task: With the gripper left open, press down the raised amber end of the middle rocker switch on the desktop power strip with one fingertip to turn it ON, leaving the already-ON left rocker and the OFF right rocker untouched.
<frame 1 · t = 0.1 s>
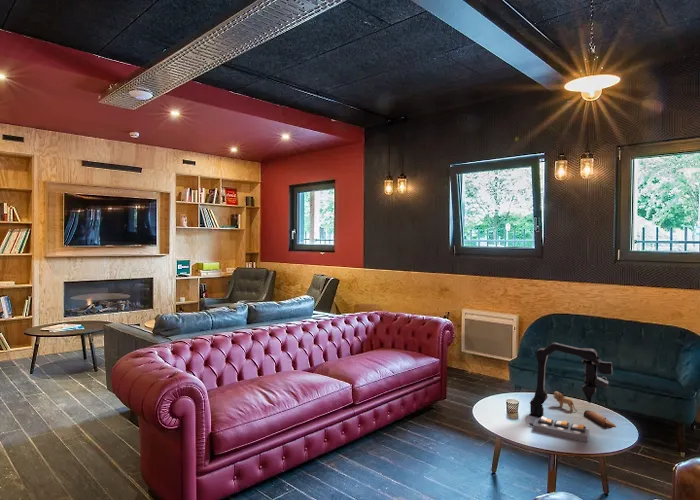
hand: (590, 400, 249), 15 cm above the table, fingers open, 9 cm apart
lion figurine: (564, 408, 275), on the table
rocker right: (578, 427, 238), point 4 cm above the table, hinge at -12.0°
sunglasses case: (600, 422, 256), on the table
rocker middle: (561, 423, 243), point 4 cm above the table, hinge at -12.0°
power strip: (561, 432, 241), on the table
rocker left: (546, 420, 247), point 4 cm above the table, hinge at 12.0°
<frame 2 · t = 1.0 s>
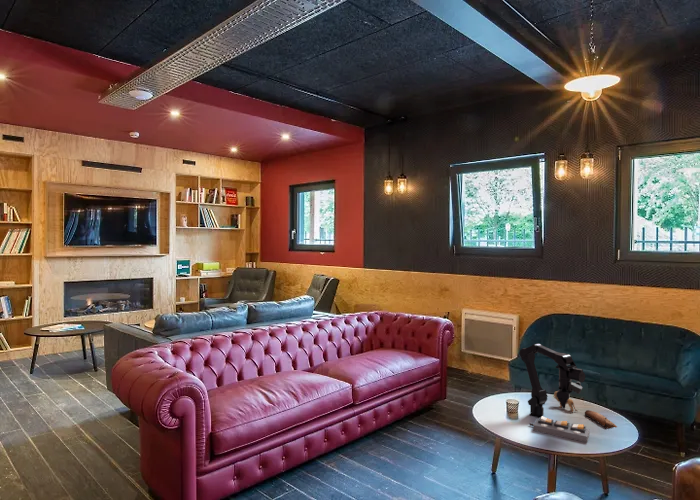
hand: (564, 405, 249), 12 cm above the table, fingers open, 9 cm apart
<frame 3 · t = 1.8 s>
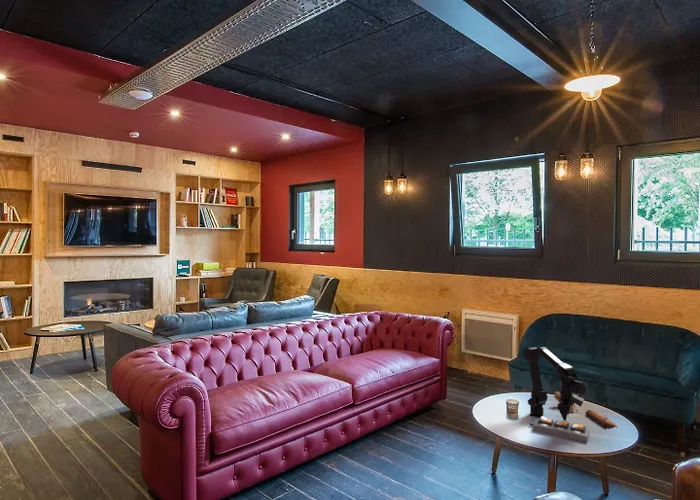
hand: (566, 417, 246), 6 cm above the table, fingers open, 9 cm apart
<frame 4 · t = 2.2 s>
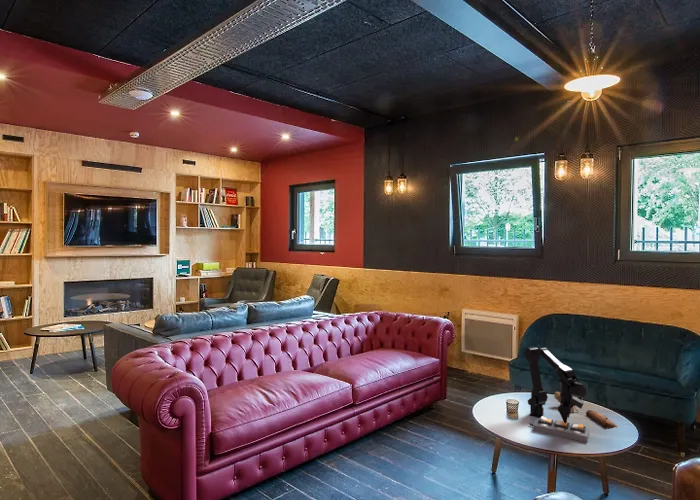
hand: (566, 420, 245), 5 cm above the table, fingers open, 8 cm apart
rocker middle: (561, 423, 243), point 4 cm above the table, hinge at -11.4°, touching gripper
everything else where it was.
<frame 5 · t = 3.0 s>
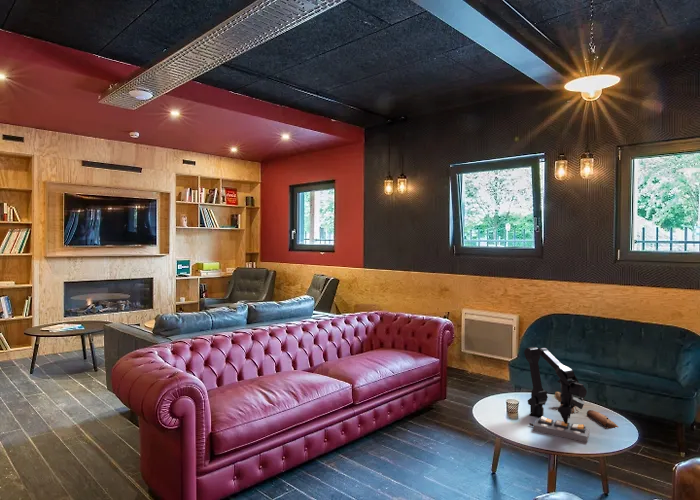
hand: (567, 420, 245), 5 cm above the table, fingers open, 8 cm apart
rocker middle: (561, 423, 243), point 4 cm above the table, hinge at 2.8°, touching gripper
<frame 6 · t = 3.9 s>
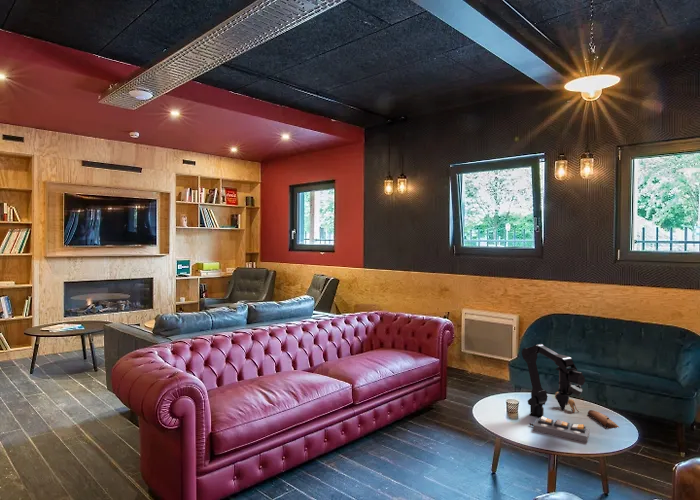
hand: (564, 407, 247), 11 cm above the table, fingers open, 9 cm apart
rocker middle: (561, 423, 243), point 4 cm above the table, hinge at 10.2°
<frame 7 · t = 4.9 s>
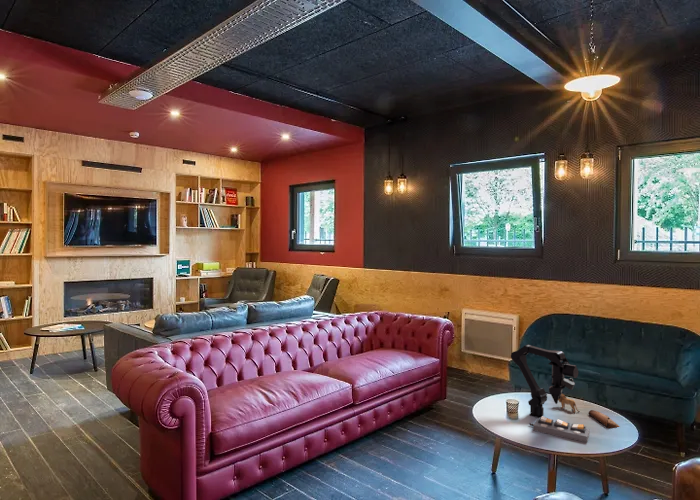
hand: (557, 401, 255), 12 cm above the table, fingers open, 9 cm apart
rocker middle: (561, 423, 243), point 4 cm above the table, hinge at 16.1°
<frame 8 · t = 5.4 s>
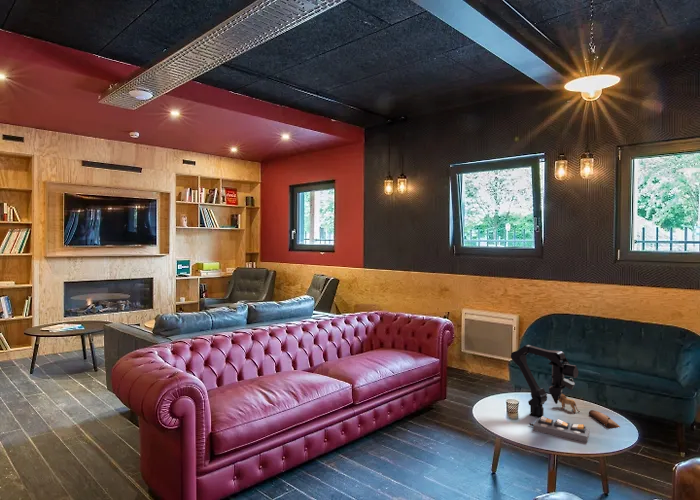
hand: (557, 401, 255), 12 cm above the table, fingers open, 9 cm apart
rocker middle: (562, 423, 243), point 4 cm above the table, hinge at 18.4°
at the end: rocker middle at +19° (first picture: -12°); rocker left at +12° (first picture: +12°); rocker right at -12° (first picture: -12°) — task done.
